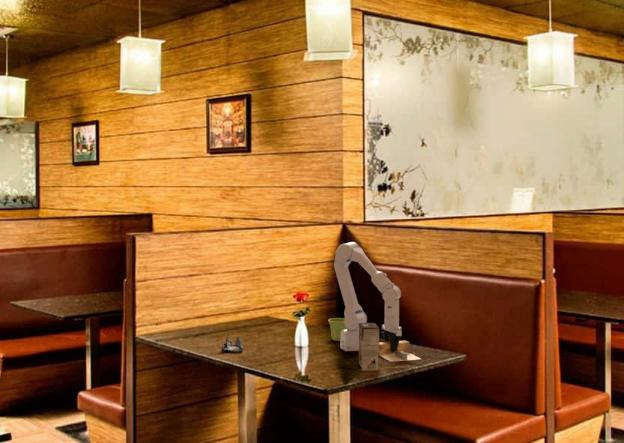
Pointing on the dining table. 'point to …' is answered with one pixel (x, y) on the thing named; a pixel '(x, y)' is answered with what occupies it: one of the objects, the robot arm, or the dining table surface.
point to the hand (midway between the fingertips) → (391, 350)
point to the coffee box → (368, 346)
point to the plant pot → (336, 327)
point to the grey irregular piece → (233, 345)
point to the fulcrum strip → (400, 354)
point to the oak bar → (385, 349)
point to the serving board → (393, 358)
